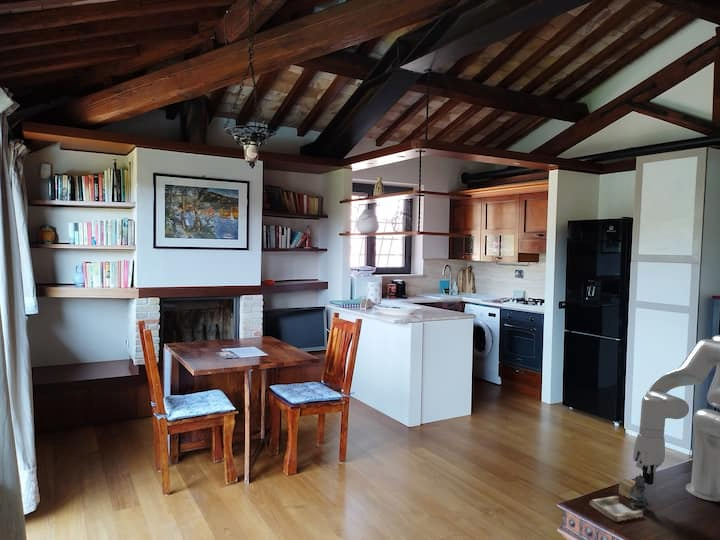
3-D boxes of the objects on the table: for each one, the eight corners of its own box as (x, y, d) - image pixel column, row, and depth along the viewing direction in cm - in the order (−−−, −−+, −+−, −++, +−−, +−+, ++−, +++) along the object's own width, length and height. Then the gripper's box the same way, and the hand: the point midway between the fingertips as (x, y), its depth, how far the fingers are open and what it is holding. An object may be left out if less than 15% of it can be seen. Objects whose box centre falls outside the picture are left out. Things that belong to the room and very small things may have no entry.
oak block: (629, 491, 196) (630, 478, 195) (640, 498, 191) (641, 484, 191) (618, 493, 194) (619, 480, 194) (629, 499, 189) (630, 486, 189)
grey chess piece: (649, 512, 181) (652, 478, 180) (631, 510, 182) (633, 476, 181) (644, 504, 187) (646, 471, 186) (626, 501, 188) (628, 469, 187)
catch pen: (616, 500, 188) (616, 495, 188) (642, 516, 178) (643, 511, 177) (589, 504, 184) (589, 500, 184) (614, 521, 174) (615, 516, 173)
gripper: (658, 426, 190) (654, 476, 191) (626, 429, 185) (622, 480, 186) (677, 434, 183) (672, 485, 184) (644, 437, 178) (640, 490, 179)
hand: (647, 482), depth 185 cm, fingers closed
